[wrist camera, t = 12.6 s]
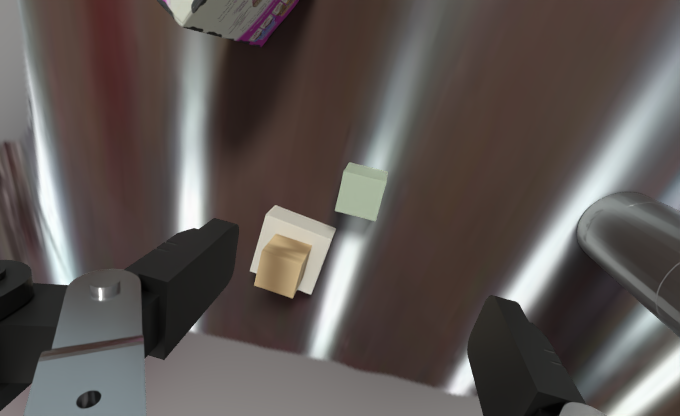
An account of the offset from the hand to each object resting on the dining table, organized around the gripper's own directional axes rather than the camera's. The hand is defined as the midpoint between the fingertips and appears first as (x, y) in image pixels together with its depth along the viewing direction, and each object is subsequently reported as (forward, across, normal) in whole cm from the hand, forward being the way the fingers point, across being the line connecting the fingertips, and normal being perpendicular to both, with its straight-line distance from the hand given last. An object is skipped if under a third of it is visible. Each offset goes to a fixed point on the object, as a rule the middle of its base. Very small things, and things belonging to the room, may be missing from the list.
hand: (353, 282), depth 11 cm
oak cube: (+30, +8, +18) cm, 36 cm away
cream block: (+34, +8, +18) cm, 40 cm away
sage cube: (+34, +1, +7) cm, 35 cm away
